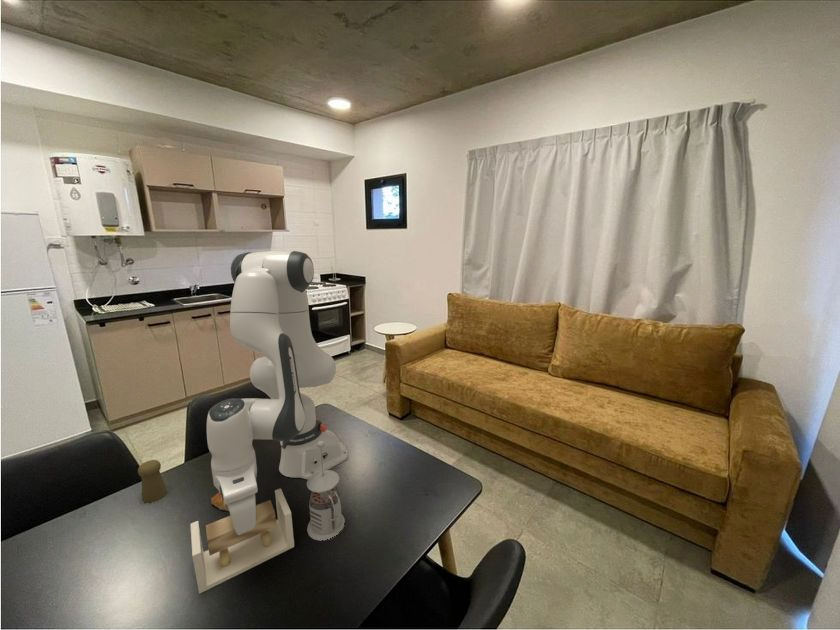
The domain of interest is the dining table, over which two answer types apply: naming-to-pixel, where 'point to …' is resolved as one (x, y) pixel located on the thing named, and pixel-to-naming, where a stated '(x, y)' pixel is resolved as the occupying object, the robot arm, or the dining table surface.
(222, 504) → the pastry
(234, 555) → the peg frame
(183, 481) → the dining table surface
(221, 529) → the shelf board
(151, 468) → the cork
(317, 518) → the french press
